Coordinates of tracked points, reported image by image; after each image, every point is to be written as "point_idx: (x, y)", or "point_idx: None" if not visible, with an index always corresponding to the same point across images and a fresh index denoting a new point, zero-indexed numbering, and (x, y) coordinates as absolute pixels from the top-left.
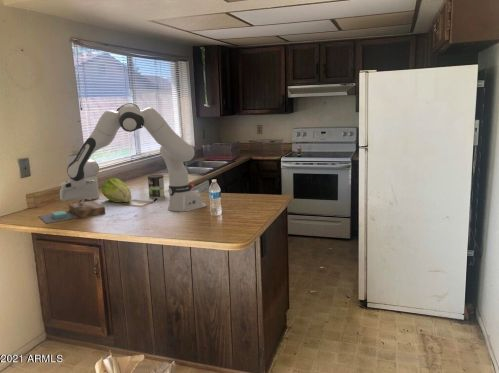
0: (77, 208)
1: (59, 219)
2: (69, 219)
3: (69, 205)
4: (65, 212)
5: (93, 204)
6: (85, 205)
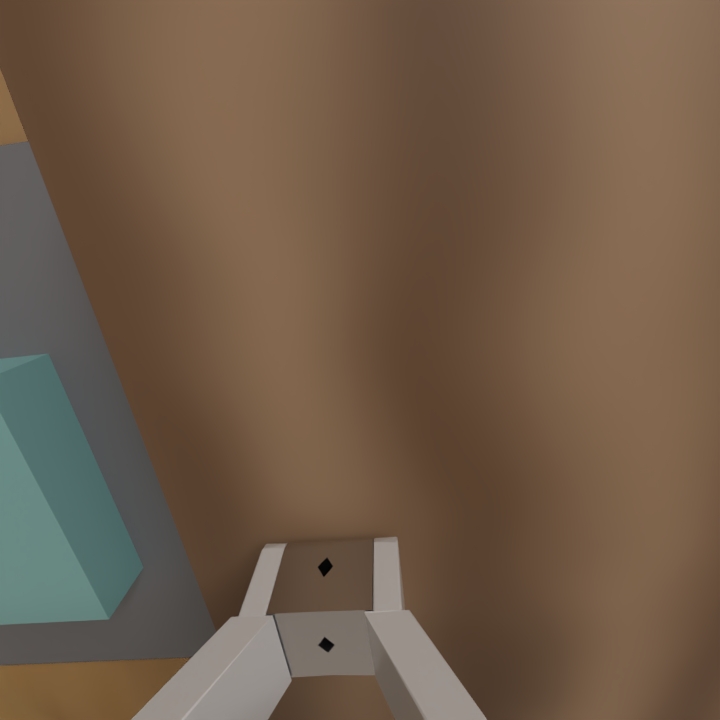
0: None
1: None
2: (179, 652)
3: (31, 106)
4: (70, 544)
5: (666, 519)
6: (466, 503)
